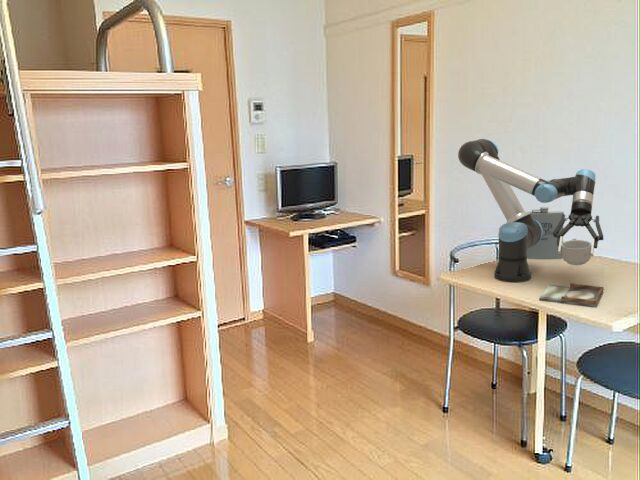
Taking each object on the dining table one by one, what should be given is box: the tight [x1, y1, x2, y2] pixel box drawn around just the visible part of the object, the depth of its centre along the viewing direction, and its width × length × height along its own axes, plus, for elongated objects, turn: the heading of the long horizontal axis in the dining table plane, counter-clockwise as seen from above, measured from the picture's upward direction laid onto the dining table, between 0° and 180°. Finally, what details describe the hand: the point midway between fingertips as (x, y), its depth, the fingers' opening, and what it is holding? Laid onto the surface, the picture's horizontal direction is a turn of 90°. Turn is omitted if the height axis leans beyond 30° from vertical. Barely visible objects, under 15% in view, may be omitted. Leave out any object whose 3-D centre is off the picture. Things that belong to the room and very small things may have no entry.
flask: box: [527, 206, 565, 260], centre depth 272 cm, size 17×5×25 cm, turn 74°
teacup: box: [561, 238, 592, 266], centre depth 224 cm, size 14×11×8 cm
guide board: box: [538, 283, 604, 308], centre depth 221 cm, size 20×18×2 cm
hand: (575, 253), depth 222 cm, fingers closed on teacup, 11 cm apart
